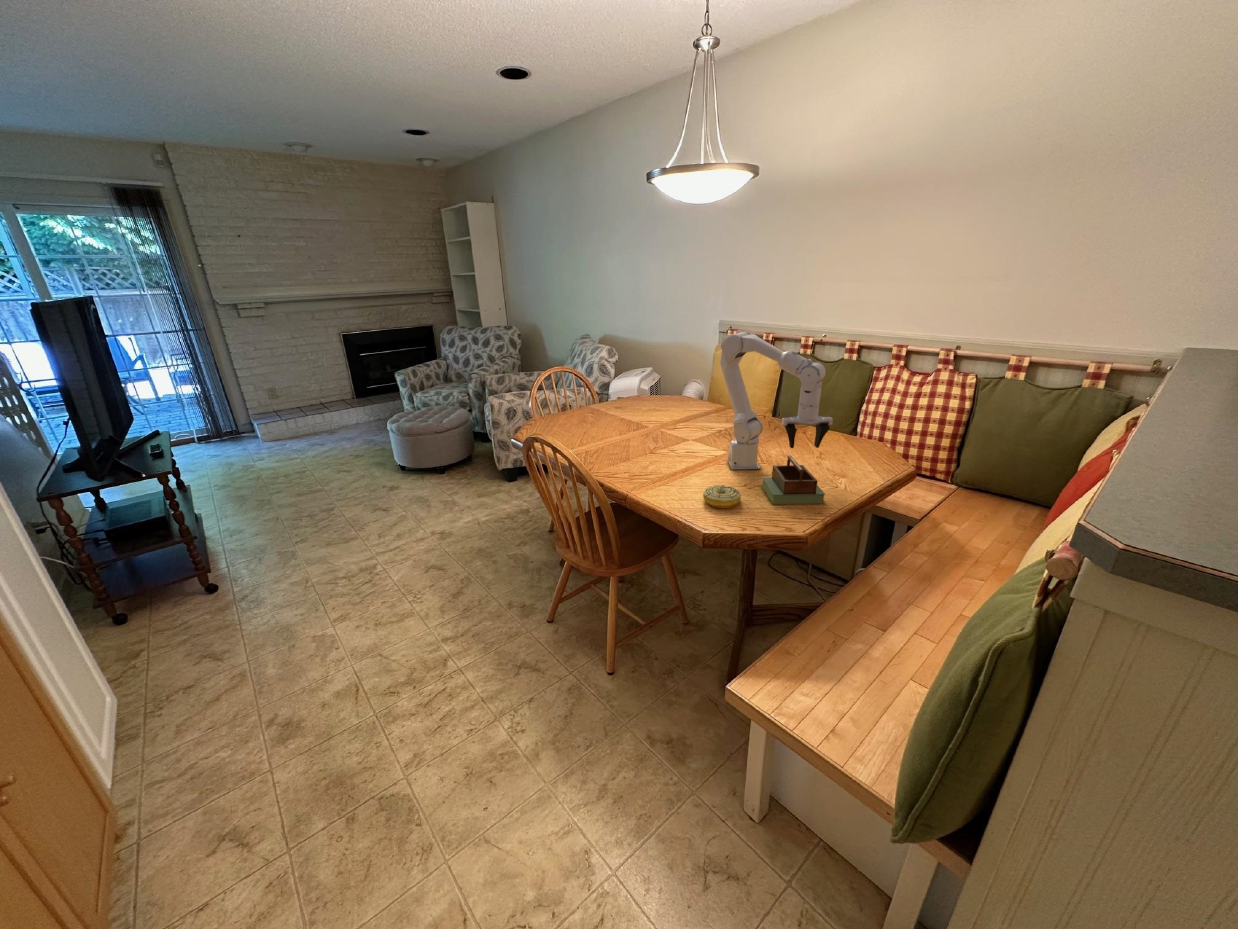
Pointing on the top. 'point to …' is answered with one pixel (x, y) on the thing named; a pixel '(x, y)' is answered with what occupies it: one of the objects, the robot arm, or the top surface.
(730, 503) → the decorated donut
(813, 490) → the basket
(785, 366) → the robot arm
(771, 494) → the green flat block
